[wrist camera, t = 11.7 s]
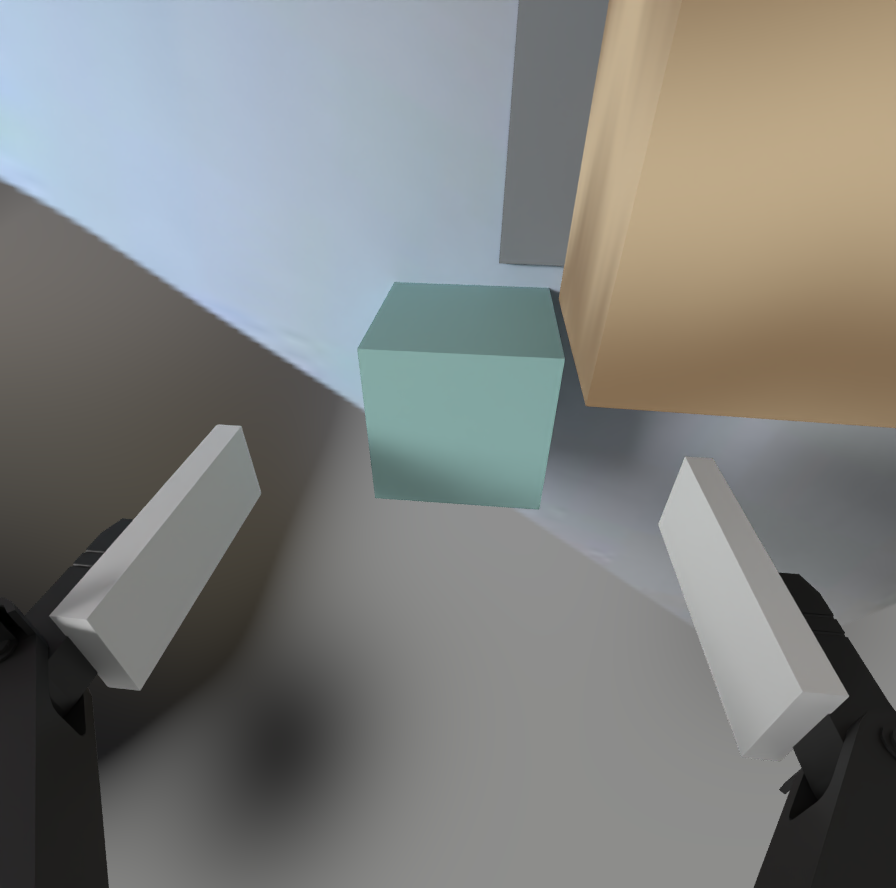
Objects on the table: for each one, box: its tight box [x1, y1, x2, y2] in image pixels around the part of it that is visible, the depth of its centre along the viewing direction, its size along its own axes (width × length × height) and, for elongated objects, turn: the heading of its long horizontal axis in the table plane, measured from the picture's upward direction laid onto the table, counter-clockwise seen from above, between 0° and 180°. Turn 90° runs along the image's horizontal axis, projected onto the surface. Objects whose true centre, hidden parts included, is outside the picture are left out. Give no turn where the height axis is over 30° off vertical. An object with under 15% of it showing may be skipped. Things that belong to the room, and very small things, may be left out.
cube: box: [357, 282, 565, 510], centre depth 18 cm, size 6×6×6 cm
